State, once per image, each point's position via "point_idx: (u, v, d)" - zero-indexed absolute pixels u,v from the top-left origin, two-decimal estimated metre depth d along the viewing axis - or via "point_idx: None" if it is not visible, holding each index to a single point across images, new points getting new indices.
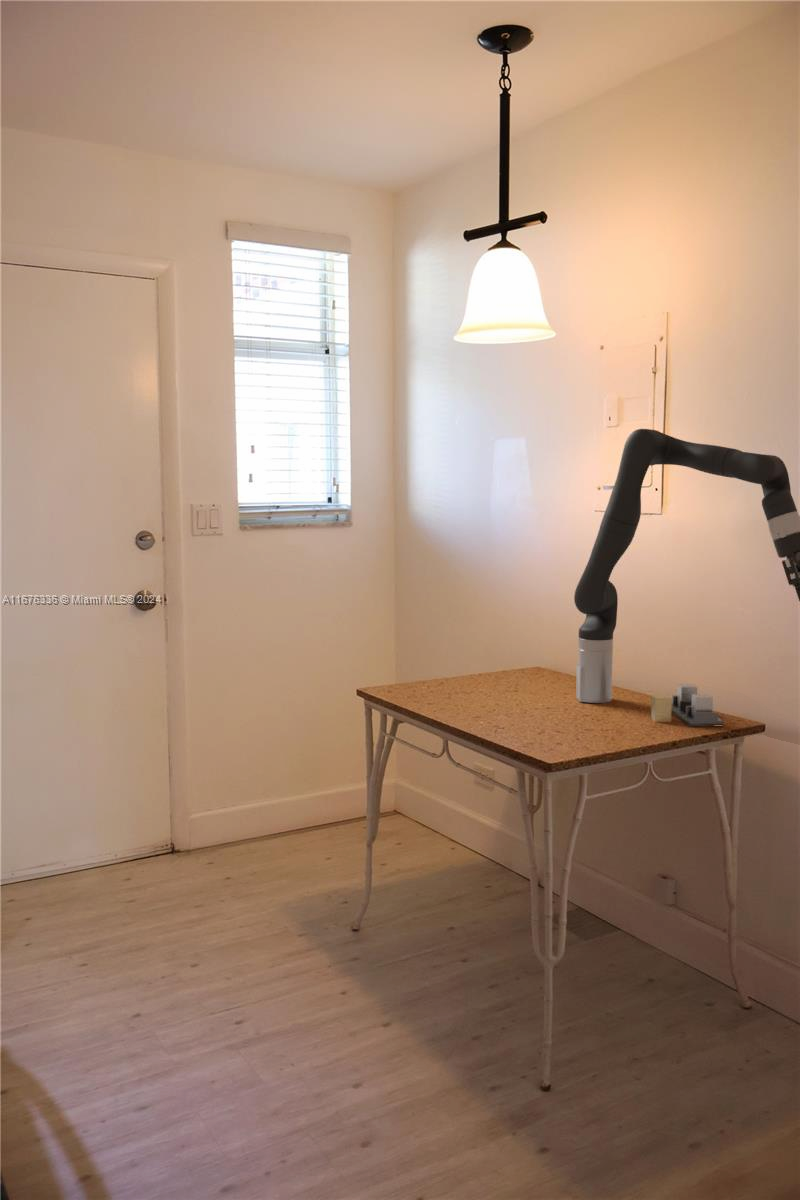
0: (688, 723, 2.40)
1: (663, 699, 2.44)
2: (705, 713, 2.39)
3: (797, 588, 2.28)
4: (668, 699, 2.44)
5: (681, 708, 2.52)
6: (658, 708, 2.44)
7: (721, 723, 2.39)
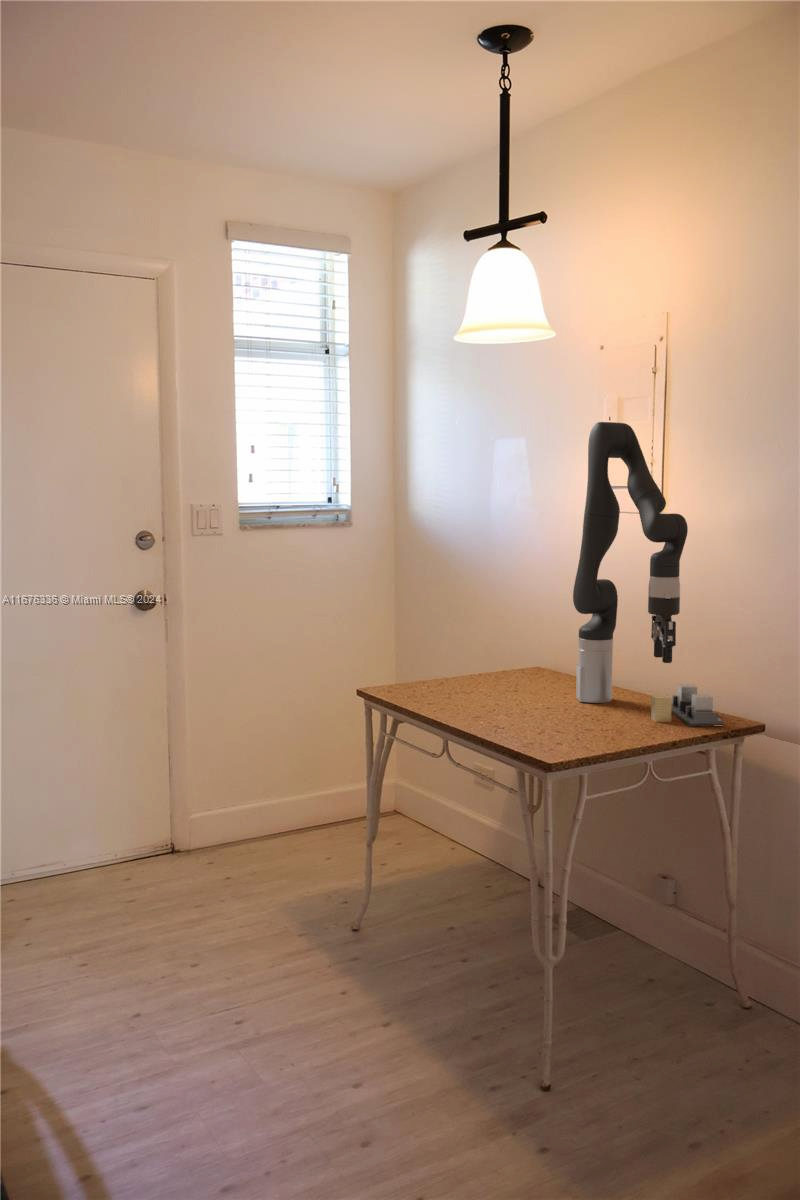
0: (688, 723, 2.40)
1: (663, 699, 2.44)
2: (705, 713, 2.39)
3: (667, 650, 2.39)
4: (668, 699, 2.44)
5: (681, 708, 2.52)
6: (658, 708, 2.44)
7: (721, 723, 2.39)
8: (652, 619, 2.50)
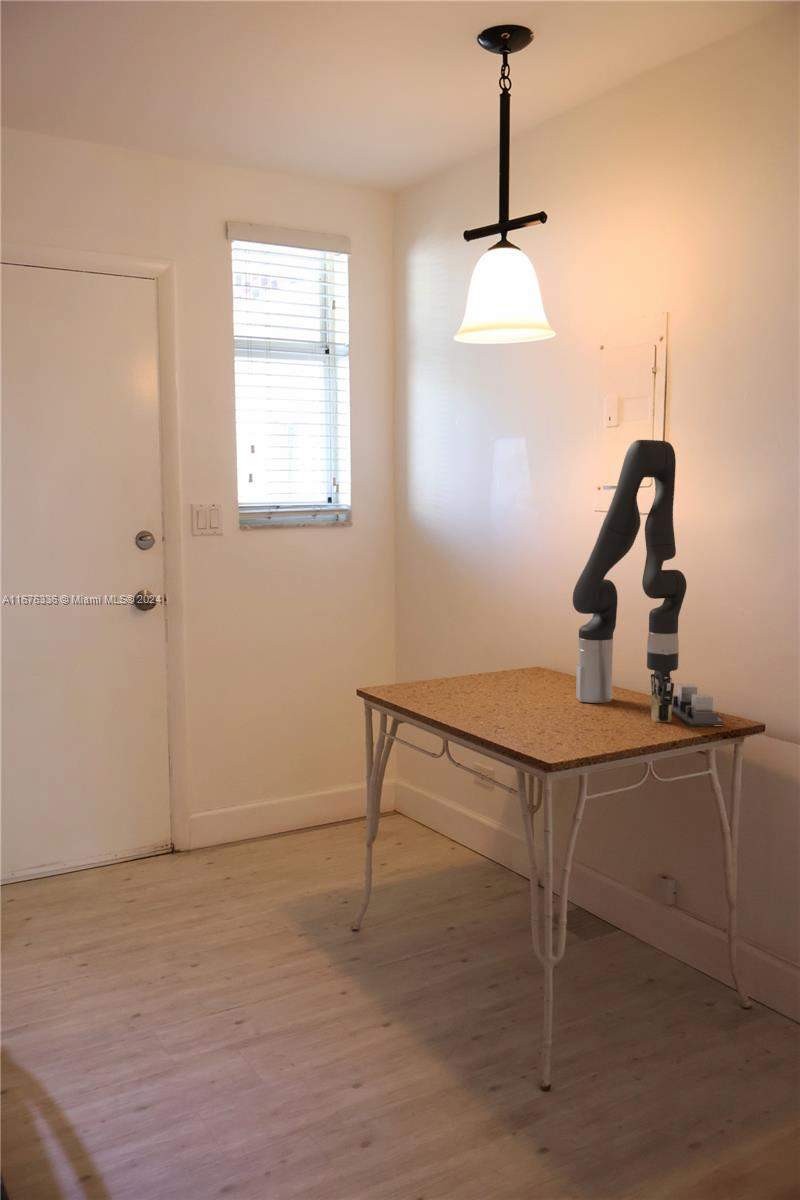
0: (688, 723, 2.40)
1: None
2: (705, 713, 2.39)
3: (663, 708, 2.43)
4: None
5: (681, 708, 2.52)
6: (658, 708, 2.44)
7: (721, 723, 2.39)
8: (651, 678, 2.52)
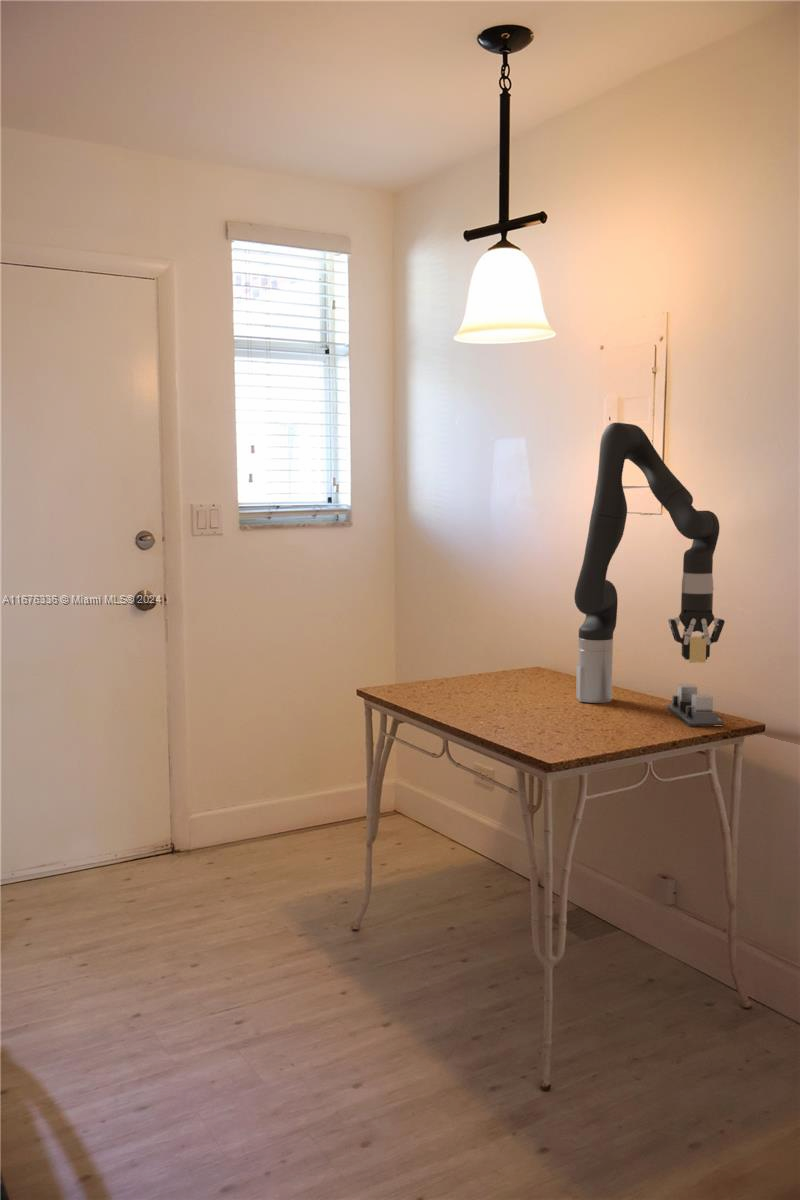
0: (688, 723, 2.40)
1: None
2: (705, 713, 2.39)
3: (682, 646, 2.48)
4: (689, 639, 2.46)
5: (681, 708, 2.52)
6: None
7: (721, 723, 2.39)
8: None
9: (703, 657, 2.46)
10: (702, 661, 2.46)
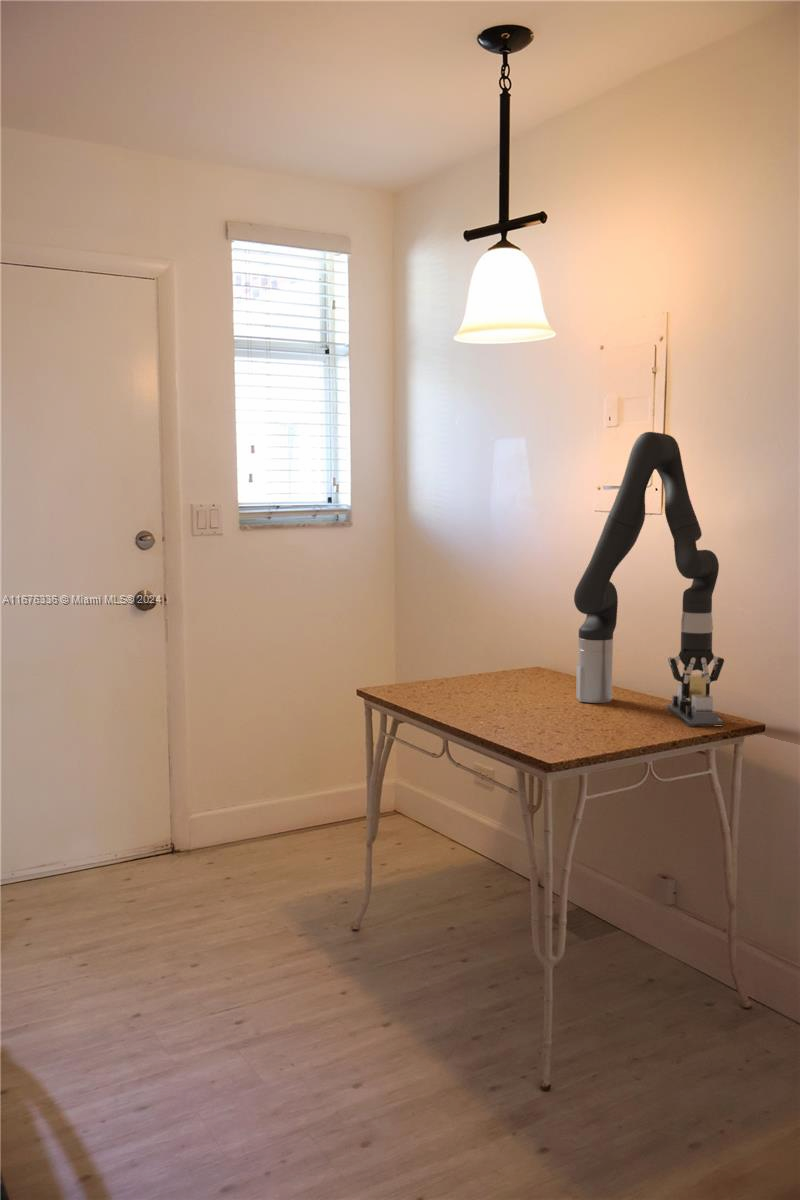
0: (688, 723, 2.40)
1: None
2: (705, 713, 2.39)
3: (682, 684, 2.49)
4: (689, 678, 2.47)
5: (681, 708, 2.52)
6: None
7: (721, 723, 2.39)
8: None
9: None
10: None
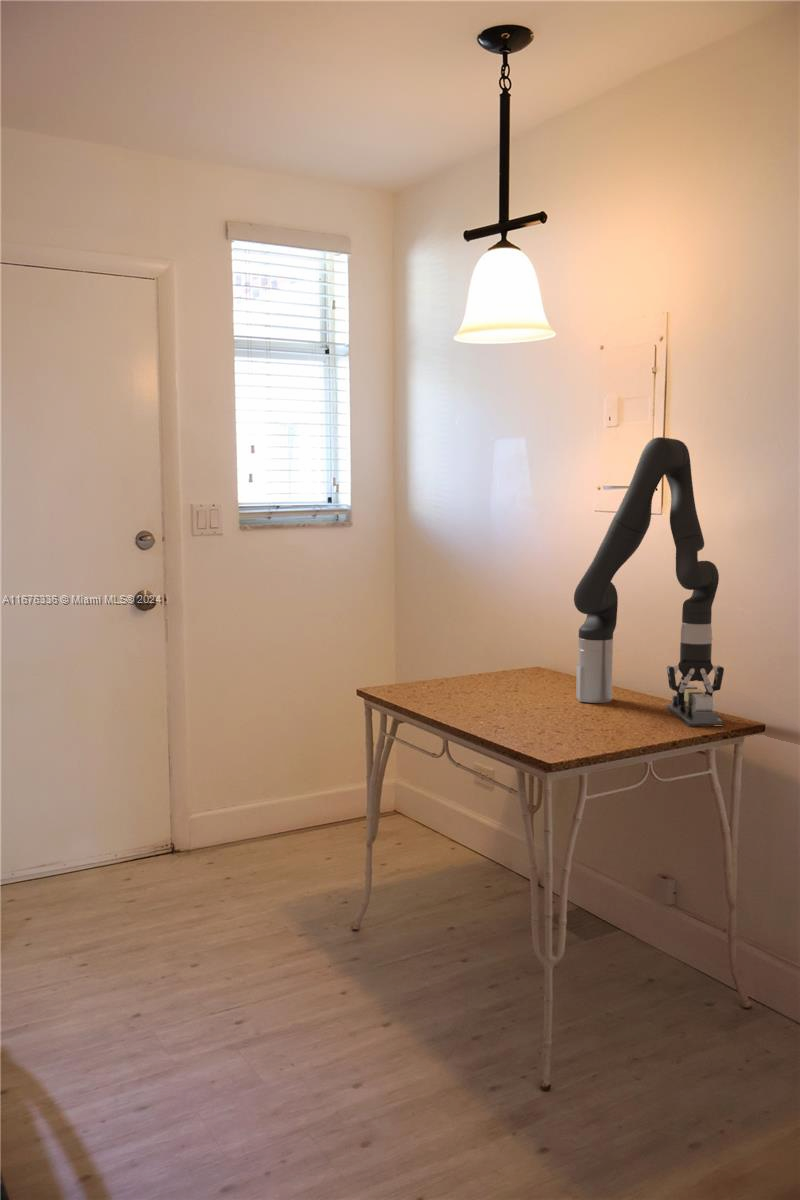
0: (688, 723, 2.40)
1: (686, 692, 2.49)
2: (705, 713, 2.39)
3: (677, 693, 2.49)
4: (688, 693, 2.48)
5: (681, 708, 2.52)
6: (685, 700, 2.50)
7: (721, 723, 2.39)
8: None
9: None
10: None
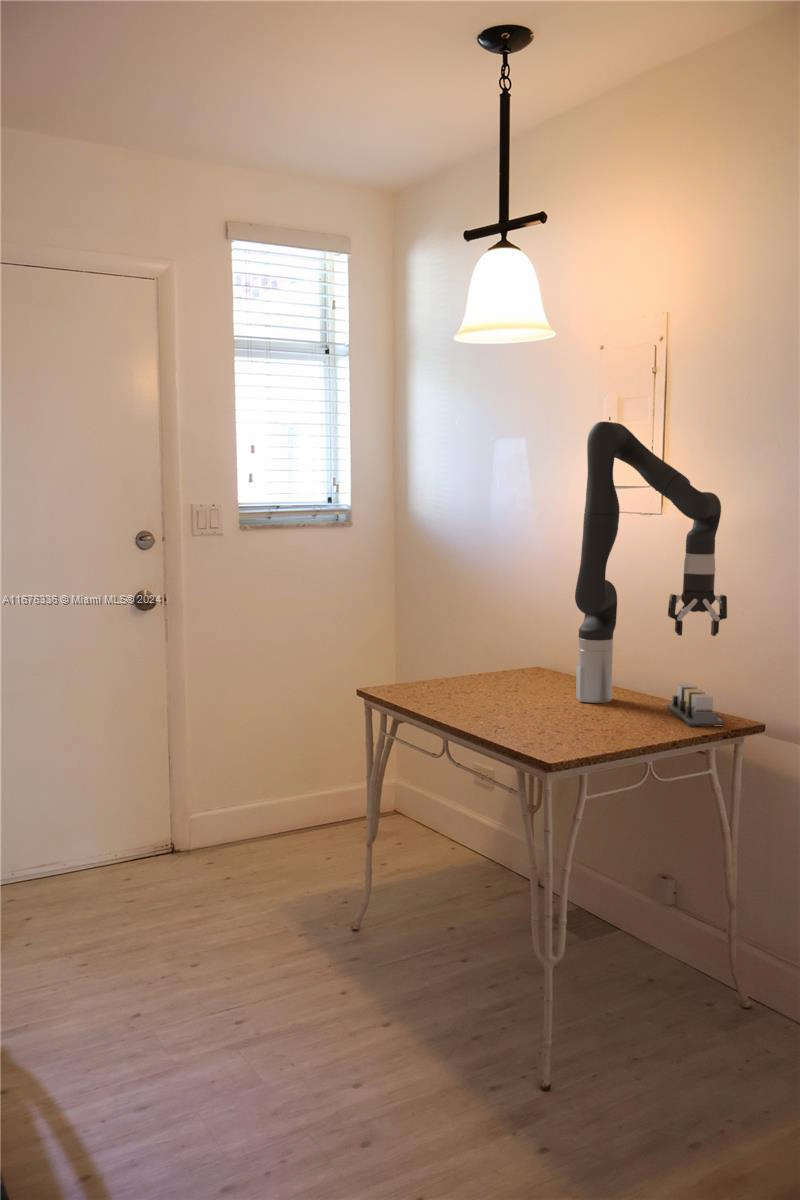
0: (688, 723, 2.40)
1: (686, 692, 2.49)
2: (705, 713, 2.39)
3: (675, 622, 2.51)
4: (688, 693, 2.48)
5: (681, 708, 2.52)
6: (685, 700, 2.50)
7: (721, 723, 2.39)
8: None
9: None
10: None
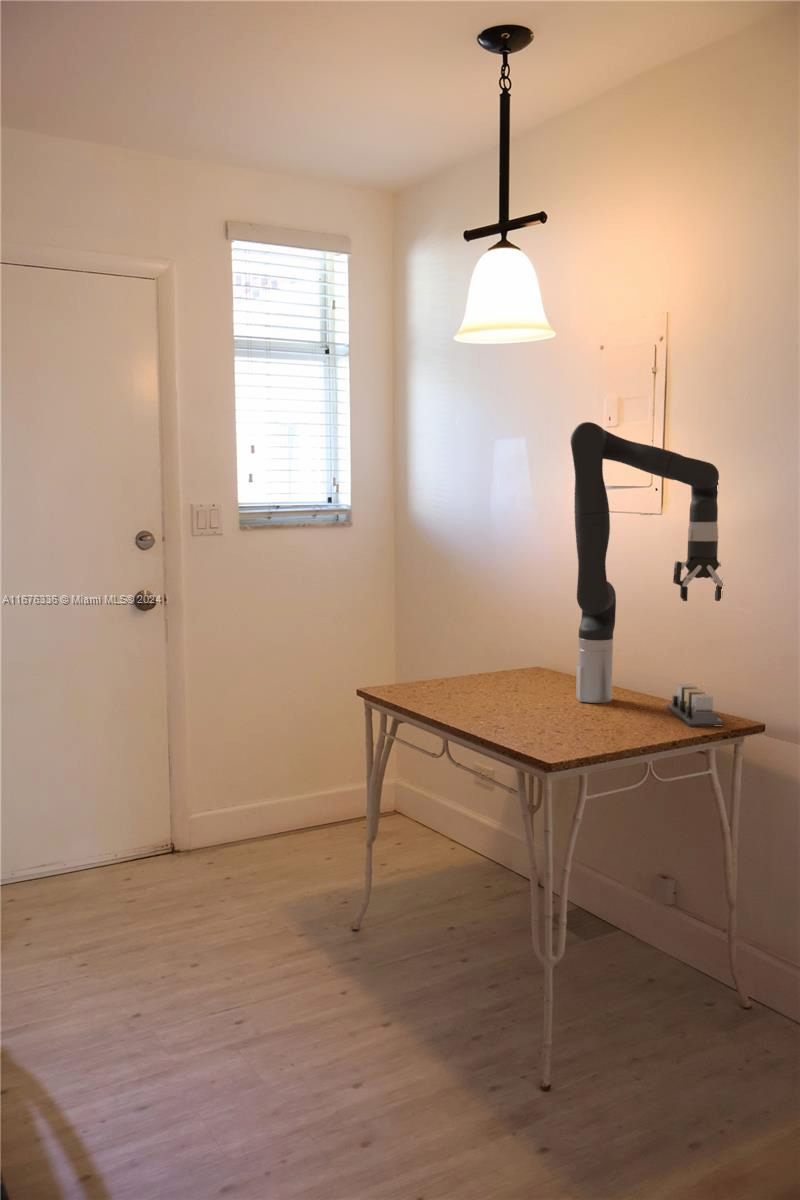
0: (688, 723, 2.40)
1: (686, 692, 2.49)
2: (705, 713, 2.39)
3: (681, 588, 2.60)
4: (688, 693, 2.48)
5: (681, 708, 2.52)
6: (685, 700, 2.50)
7: (721, 723, 2.39)
8: None
9: None
10: None
